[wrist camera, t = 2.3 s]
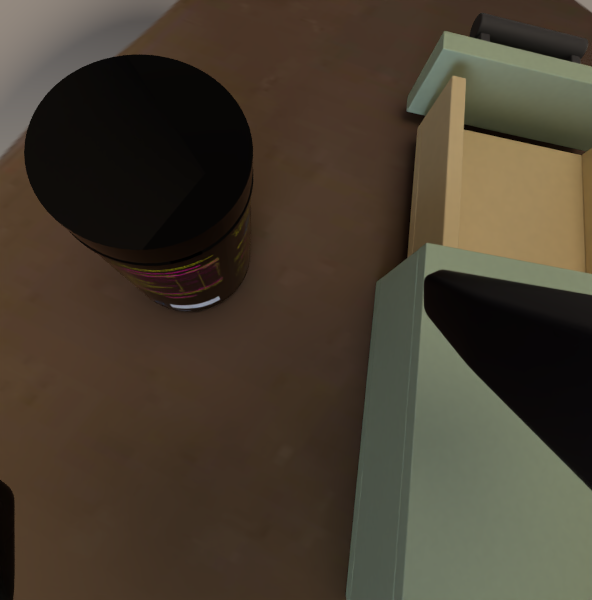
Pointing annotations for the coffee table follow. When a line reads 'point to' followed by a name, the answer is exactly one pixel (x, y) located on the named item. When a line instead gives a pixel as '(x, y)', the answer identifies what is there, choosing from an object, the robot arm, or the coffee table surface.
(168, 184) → the supplement container
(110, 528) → the coffee table surface
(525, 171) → the drawer
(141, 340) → the coffee table surface
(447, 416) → the cabinet
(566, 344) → the robot arm
